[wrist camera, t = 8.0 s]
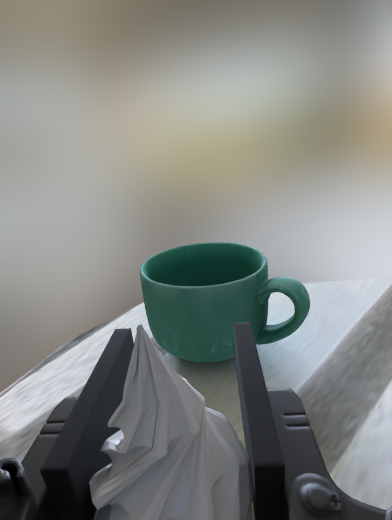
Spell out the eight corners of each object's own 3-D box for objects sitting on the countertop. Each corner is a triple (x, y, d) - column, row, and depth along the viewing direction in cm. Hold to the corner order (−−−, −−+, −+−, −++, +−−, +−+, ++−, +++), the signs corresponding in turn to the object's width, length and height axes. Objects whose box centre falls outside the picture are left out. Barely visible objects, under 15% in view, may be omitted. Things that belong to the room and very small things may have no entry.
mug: (128, 350, 31) (111, 270, 28) (200, 302, 40) (194, 236, 37) (269, 430, 21) (269, 317, 18) (324, 341, 30) (331, 255, 27)
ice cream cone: (162, 791, 9) (-3, 454, 4) (134, 586, 14) (39, 307, 9) (292, 682, 11) (287, 343, 6) (229, 530, 15) (194, 267, 10)
